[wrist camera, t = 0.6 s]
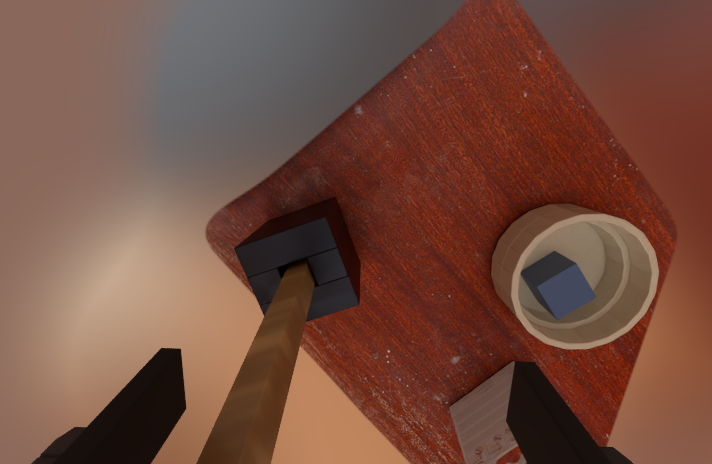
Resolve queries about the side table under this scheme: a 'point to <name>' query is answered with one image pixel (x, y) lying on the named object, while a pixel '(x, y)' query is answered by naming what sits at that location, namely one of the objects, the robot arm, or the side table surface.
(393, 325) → the side table surface
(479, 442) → the ink box
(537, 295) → the block
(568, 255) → the bowl
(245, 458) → the stick
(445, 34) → the side table surface
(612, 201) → the side table surface
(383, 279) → the side table surface
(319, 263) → the stand
